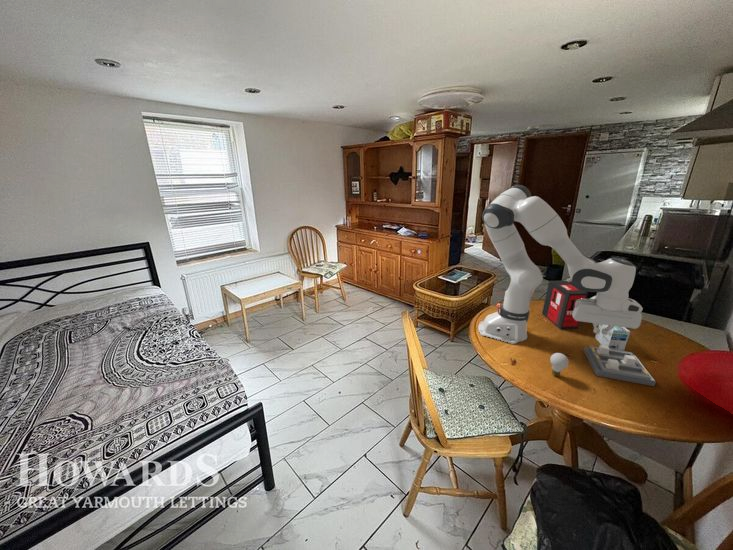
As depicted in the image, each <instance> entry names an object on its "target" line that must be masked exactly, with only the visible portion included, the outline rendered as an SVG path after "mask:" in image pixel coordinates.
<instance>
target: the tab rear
mask: <svg viewBox="0 0 733 550" xmlns="http://www.w3.org/2000/svg"><path fill="white" fill-rule="evenodd" d="M598 347H599V348H598V350H596V353H600V354H606V355H609V350H610V349H609V347H608V346H605V345H601V344H599V346H598Z"/></svg>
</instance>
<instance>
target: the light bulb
mask: <svg viewBox="0 0 733 550" xmlns="http://www.w3.org/2000/svg"><path fill="white" fill-rule="evenodd" d="M549 360H550V364H551V370H552V371H551V374H552V375H553V376H555V377H559V376H560V375H561V372H562V371H563V370H564V369H566V368H567V367H568V365H569V359H568V357H567V356H566V355H565V354H563V353H561V352H555V353H552V354H551V356H550V358H549Z"/></svg>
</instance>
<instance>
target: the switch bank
mask: <svg viewBox="0 0 733 550" xmlns="http://www.w3.org/2000/svg"><path fill="white" fill-rule="evenodd" d="M598 348H599V346H592V345H589V347H587V346H584V348H583V353H584V355H585V357H586V359H587V360H588V362H589V364H590V367H591V368H592V370H593V372H594V374H595V375H596V376H597V377H604V378H608V379H614V380H619V381H624V382H630V383H635V384H641V385H647V386H652V387H655V385H656V383H657V382H656V380H655V379H654V377H653V376H652V374H651V373H650V372H649V371H648V370H647V369H646V367H645V366H644V364H643V363H642V362H641V361H640V359H639V358H638V357H637V356H636V354H634V353H633V352H631V351H630V352H629V351H625V350H624V351H619V350H613V349H610V350H609V355H606V354H600V353H596V350H598ZM625 355H629V356H634V357H635V359H636V362H635V365H636V366H633V365H627V364H622V363H621V362H620V360H623V359H624V356H625ZM608 359H614V360H617V361H618V362H619V367H618V368H619V370H616V369H610V368H605V366H604V364H607V362H608Z"/></svg>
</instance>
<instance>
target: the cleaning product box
mask: <svg viewBox="0 0 733 550" xmlns="http://www.w3.org/2000/svg"><path fill="white" fill-rule="evenodd" d="M588 295H589V292H584V291H580V290H578V289H577V288H575V287H574V285H573V283H572V282H569V281H567V280H549V281H548V284H547V289H546V293H545V299H544V302H543V307H542V312H541V314H542V315H543V316H544V317H545V318H546V317H547V318H548V321H550V322H551V323H552V324H553V325H554V326H556V328H557V329H559V330H560V331H561V330H562V331H563V330H565V331H566V330H579V328H580V324H581V321H576V320H575V319H574V318H573V316H572V313H573V310H574V308H575V303H576V301H577V300H578V299H581V298H586V299H588ZM547 318H546V319H547Z"/></svg>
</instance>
